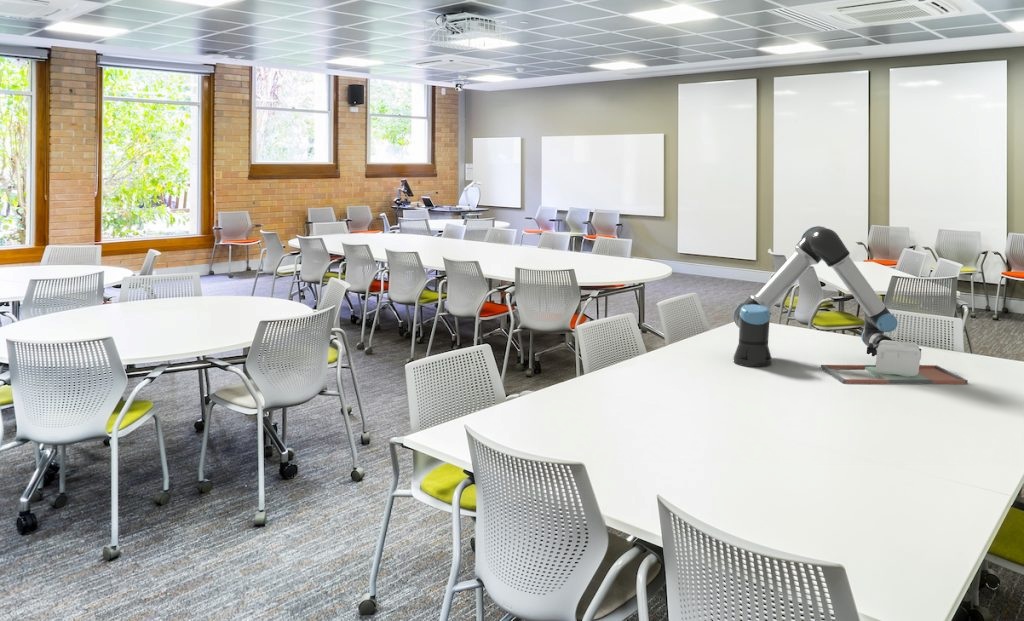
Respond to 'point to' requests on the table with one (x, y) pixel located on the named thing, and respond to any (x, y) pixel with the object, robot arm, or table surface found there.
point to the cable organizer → (898, 358)
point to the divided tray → (924, 376)
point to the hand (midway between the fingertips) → (901, 355)
